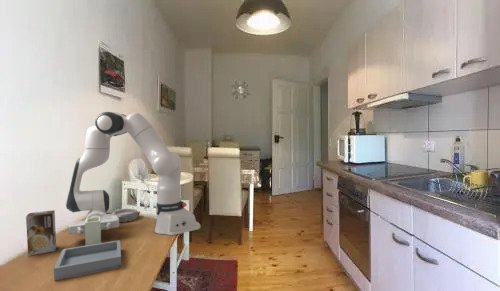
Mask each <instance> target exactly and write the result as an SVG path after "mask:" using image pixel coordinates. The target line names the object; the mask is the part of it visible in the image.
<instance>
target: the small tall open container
mask: <svg viewBox="0 0 500 291" xmlns="http://www.w3.org/2000/svg"><path fill="white" fill-rule="evenodd" d="M85 219H86V218H85ZM84 236H85V246H87V245H93V244H99V243H102V230H101V217H95V218H87V219H86V221H85V232H84Z"/></svg>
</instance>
